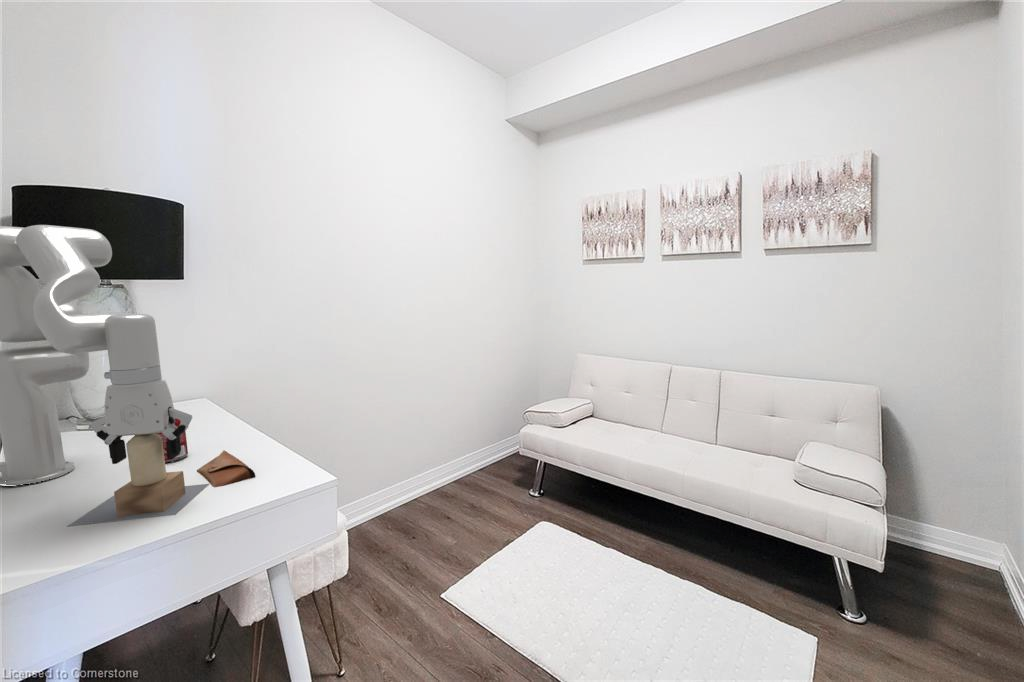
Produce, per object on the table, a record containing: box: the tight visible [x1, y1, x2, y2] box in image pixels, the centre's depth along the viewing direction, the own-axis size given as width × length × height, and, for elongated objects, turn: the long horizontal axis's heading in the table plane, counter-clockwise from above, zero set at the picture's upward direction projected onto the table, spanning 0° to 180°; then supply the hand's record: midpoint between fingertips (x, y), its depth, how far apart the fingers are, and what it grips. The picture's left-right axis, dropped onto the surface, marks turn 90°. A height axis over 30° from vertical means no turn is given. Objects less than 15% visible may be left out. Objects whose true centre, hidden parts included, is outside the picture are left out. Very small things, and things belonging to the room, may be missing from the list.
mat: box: [66, 483, 210, 527], centre depth 90 cm, size 18×14×1 cm
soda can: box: [156, 418, 189, 464], centre depth 114 cm, size 7×7×12 cm
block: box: [113, 470, 186, 516], centre depth 89 cm, size 8×8×5 cm
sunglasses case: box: [196, 450, 256, 488], centre depth 104 cm, size 18×7×7 cm, turn 50°
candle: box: [125, 433, 167, 486], centre depth 88 cm, size 6×6×10 cm
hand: (147, 459), depth 88 cm, fingers open, 9 cm apart
